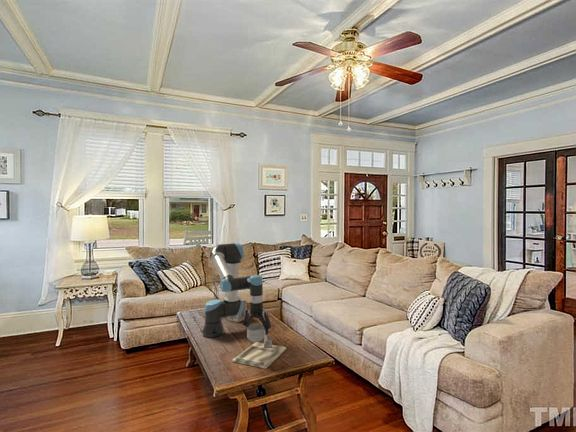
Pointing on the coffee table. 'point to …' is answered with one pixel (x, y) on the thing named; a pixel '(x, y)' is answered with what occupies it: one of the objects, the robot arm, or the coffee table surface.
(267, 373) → the coffee table surface
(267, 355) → the carrier board
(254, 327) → the teacup
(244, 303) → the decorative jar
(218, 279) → the geometric lantern
